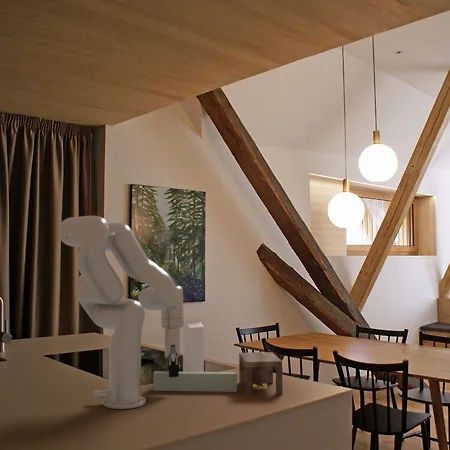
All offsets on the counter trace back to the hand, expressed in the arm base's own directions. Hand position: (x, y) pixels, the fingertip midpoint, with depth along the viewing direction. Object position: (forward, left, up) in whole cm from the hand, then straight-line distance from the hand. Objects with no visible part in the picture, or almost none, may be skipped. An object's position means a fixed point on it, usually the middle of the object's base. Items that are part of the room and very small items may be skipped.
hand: (173, 373), depth 178 cm
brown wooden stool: (+29, -1, -6) cm, 30 cm away
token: (+29, -1, -6) cm, 30 cm away
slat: (+7, -1, -6) cm, 9 cm away
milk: (+7, +19, -6) cm, 21 cm away
